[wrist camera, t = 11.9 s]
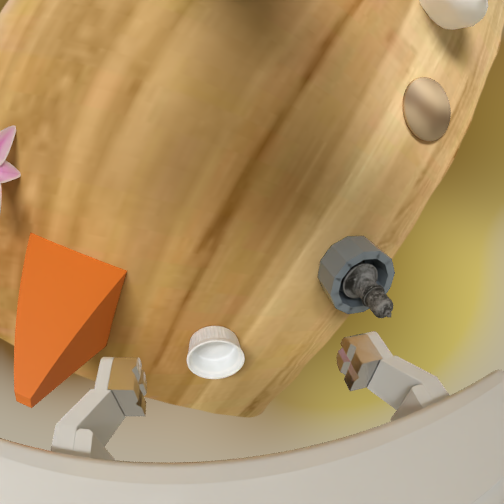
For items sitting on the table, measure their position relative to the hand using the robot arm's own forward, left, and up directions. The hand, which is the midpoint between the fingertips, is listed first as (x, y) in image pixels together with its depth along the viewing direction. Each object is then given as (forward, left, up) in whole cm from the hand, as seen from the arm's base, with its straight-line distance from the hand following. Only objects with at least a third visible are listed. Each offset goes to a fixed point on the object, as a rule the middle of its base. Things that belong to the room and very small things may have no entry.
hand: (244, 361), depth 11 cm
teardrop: (-34, +34, -28) cm, 56 cm away
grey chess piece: (+13, +21, -27) cm, 37 cm away
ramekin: (+26, 0, -28) cm, 38 cm away
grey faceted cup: (+13, +21, -28) cm, 37 cm away
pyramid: (+15, -22, -28) cm, 39 cm away
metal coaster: (-13, +31, -28) cm, 44 cm away
